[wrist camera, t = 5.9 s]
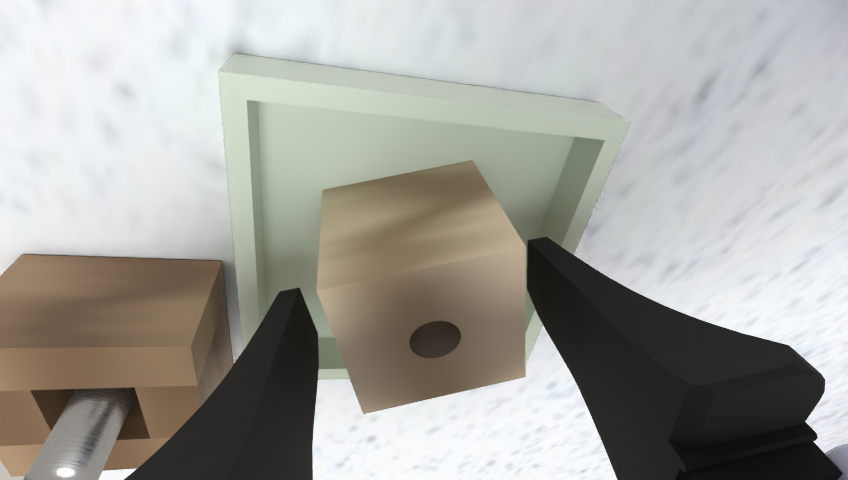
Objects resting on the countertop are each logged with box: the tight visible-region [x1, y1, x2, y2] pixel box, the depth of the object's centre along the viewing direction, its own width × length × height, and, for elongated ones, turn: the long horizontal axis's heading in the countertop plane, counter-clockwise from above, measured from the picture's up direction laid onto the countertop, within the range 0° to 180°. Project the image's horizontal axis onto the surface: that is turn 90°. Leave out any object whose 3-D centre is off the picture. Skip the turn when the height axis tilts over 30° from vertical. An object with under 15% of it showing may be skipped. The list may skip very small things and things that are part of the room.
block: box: [317, 160, 526, 414], centre depth 14 cm, size 5×5×5 cm
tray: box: [218, 53, 631, 380], centre depth 15 cm, size 11×11×2 cm
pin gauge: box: [24, 387, 136, 480], centre depth 14 cm, size 2×2×6 cm
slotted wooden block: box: [0, 254, 233, 476], centre depth 15 cm, size 6×6×4 cm
